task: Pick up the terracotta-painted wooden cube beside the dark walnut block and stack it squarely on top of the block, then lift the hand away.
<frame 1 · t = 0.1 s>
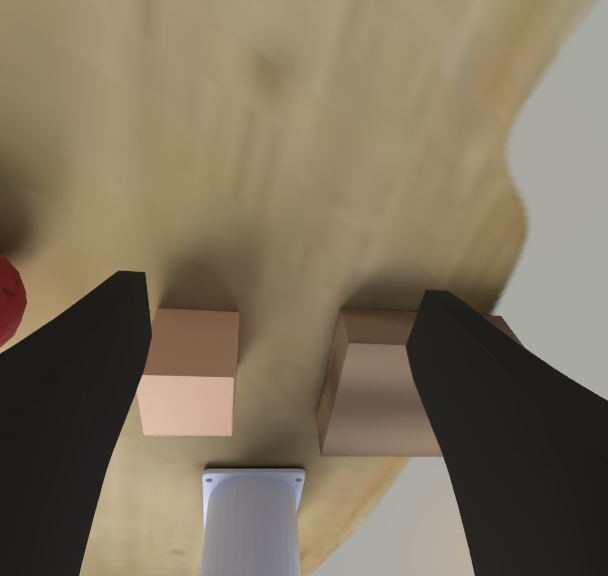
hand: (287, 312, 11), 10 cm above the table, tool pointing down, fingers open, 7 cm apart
walnut base: (401, 371, 27), on the table
terracotta cube: (199, 339, 24), on the table
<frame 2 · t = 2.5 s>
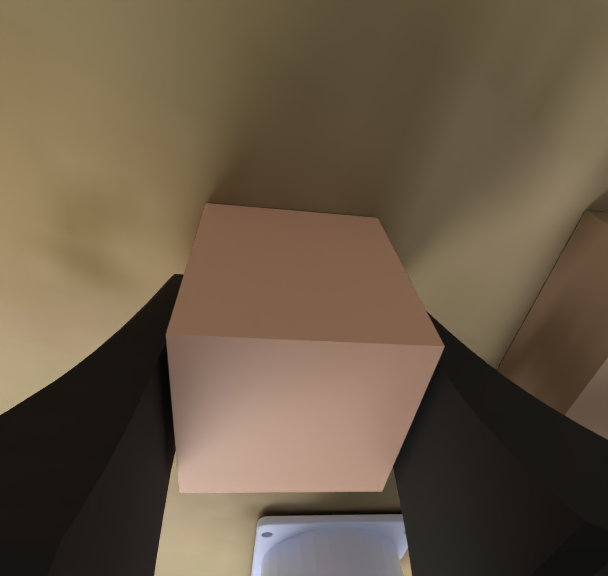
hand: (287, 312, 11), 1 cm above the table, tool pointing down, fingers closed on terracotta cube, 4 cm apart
terracotta cube: (285, 282, 12), on the table, touching gripper
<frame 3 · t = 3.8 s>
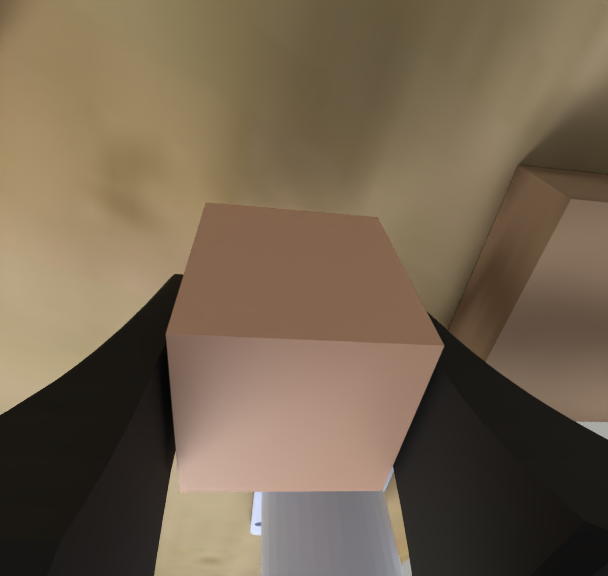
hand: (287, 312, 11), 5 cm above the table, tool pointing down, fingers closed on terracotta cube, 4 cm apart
walnut base: (575, 290, 18), on the table
terracotta cube: (285, 281, 12), point 4 cm above the table, touching gripper
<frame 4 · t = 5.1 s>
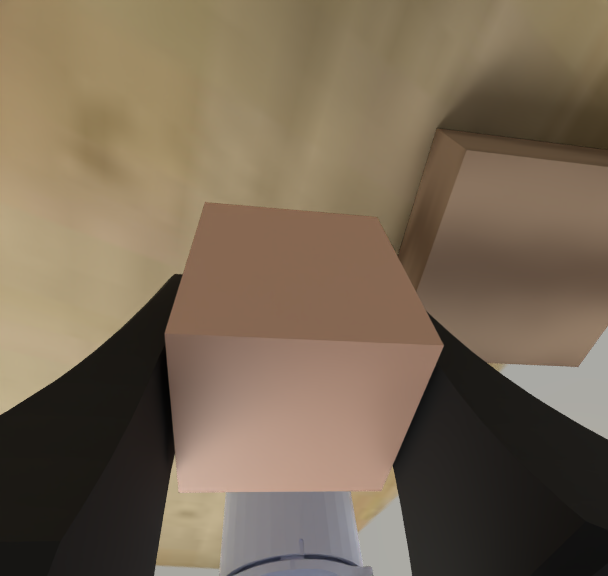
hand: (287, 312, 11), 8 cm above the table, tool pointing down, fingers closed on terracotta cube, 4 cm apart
walnut base: (500, 246, 20), on the table
terracotta cube: (285, 281, 12), point 7 cm above the table, touching gripper
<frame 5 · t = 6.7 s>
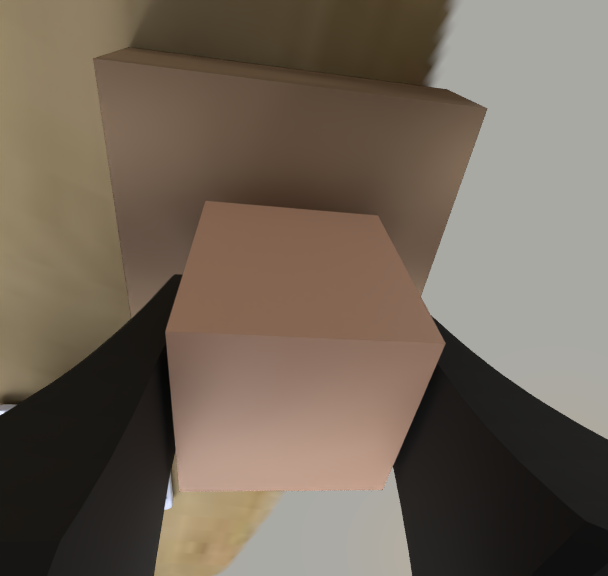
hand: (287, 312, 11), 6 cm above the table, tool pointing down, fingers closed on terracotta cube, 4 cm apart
walnut base: (281, 216, 16), on the table
terracotta cube: (285, 280, 12), point 4 cm above the table, touching gripper
when the fingers open (6 cm above the table, at t = 7.8 s): terracotta cube drops 1 cm, resting on walnut base.
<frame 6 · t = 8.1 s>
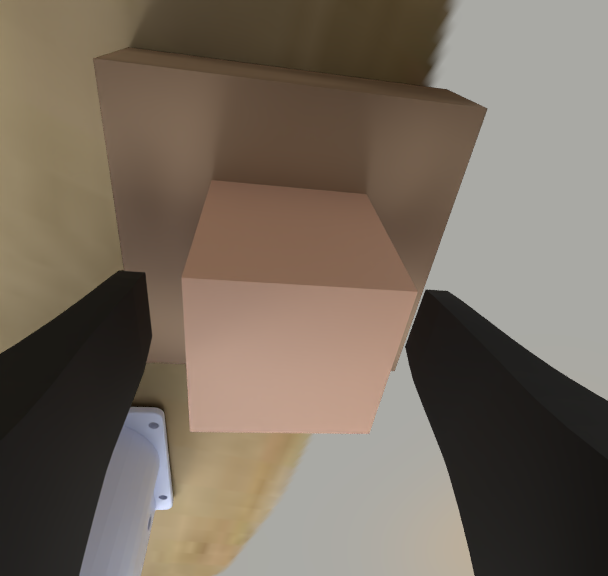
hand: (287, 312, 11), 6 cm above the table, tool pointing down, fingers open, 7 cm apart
walnut base: (281, 216, 16), on the table
terracotta cube: (283, 254, 13), point 3 cm above the table, touching walnut base
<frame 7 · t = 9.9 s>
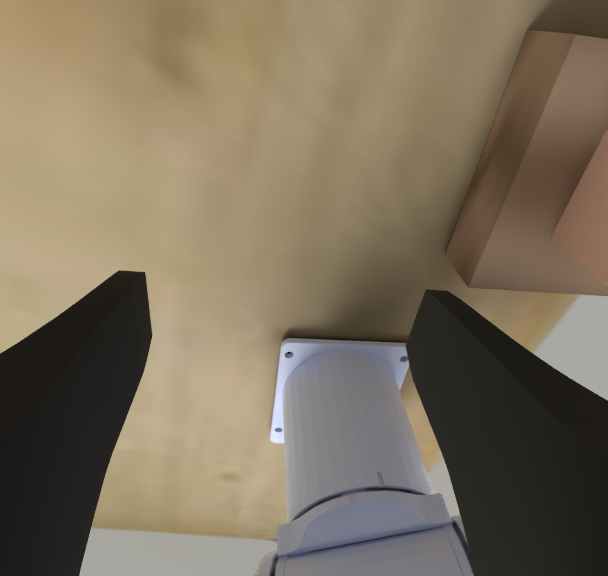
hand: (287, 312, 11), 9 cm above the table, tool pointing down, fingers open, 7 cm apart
walnut base: (579, 169, 19), on the table
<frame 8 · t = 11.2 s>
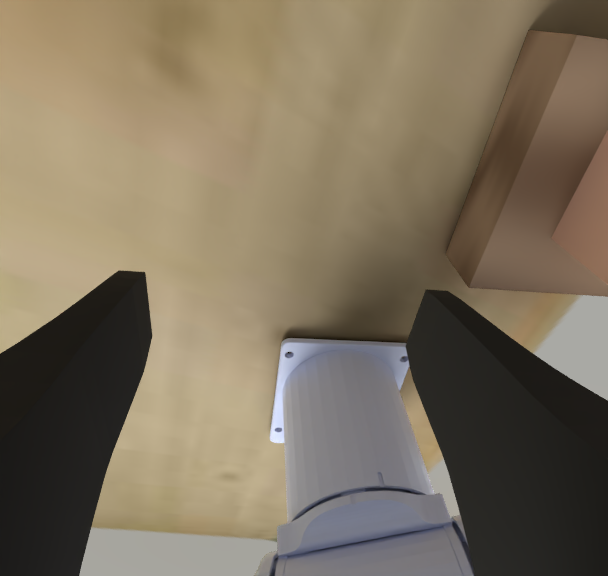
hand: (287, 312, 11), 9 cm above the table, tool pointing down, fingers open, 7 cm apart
walnut base: (579, 170, 19), on the table
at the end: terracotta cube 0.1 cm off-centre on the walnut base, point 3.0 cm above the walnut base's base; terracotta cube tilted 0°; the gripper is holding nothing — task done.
